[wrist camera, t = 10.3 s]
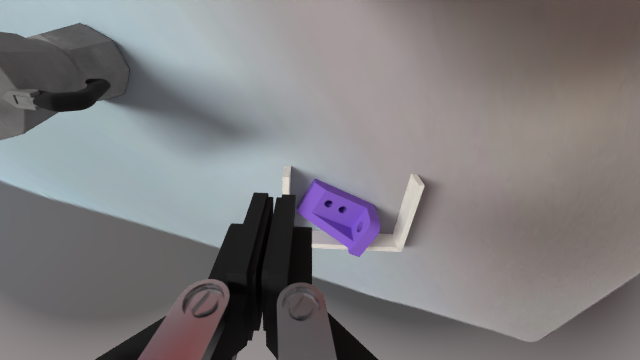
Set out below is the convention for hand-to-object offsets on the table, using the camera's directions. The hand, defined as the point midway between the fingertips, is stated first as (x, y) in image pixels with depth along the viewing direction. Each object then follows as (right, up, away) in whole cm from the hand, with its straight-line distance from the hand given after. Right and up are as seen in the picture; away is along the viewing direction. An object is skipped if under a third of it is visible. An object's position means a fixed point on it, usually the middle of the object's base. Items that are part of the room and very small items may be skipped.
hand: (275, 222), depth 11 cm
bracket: (+5, -3, +36) cm, 37 cm away
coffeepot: (-27, +17, +23) cm, 39 cm away
